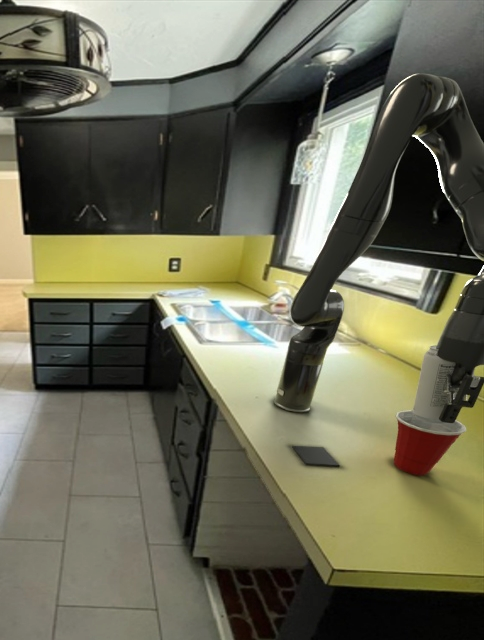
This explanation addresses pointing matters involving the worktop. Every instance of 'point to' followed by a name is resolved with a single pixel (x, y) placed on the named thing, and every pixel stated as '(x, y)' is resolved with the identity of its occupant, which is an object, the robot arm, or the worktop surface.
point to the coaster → (315, 456)
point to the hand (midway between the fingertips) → (434, 412)
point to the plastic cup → (422, 442)
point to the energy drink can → (432, 387)
